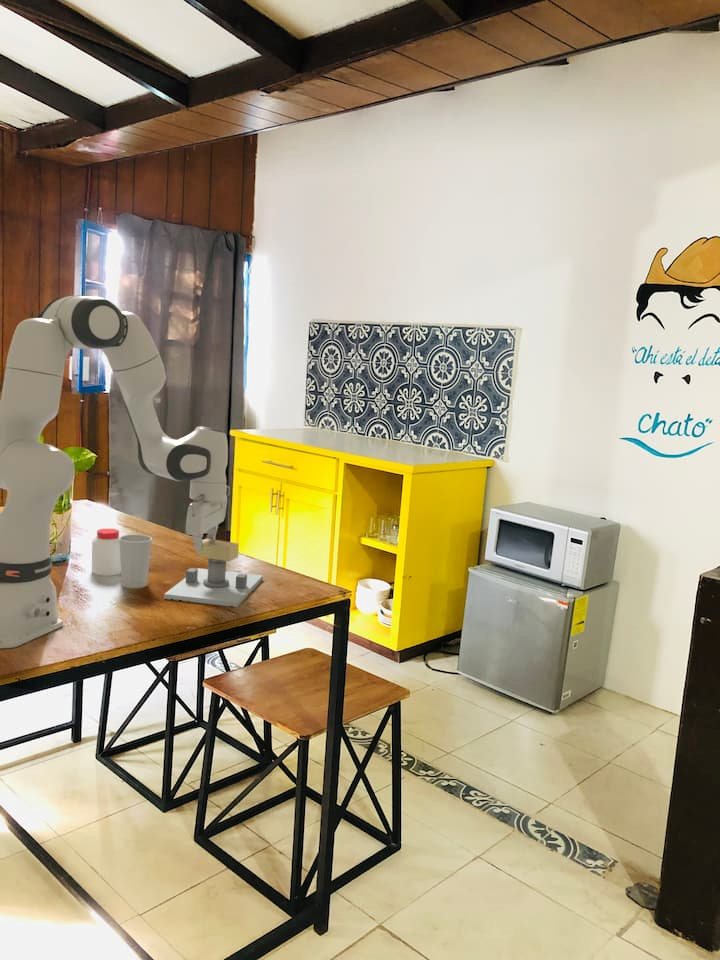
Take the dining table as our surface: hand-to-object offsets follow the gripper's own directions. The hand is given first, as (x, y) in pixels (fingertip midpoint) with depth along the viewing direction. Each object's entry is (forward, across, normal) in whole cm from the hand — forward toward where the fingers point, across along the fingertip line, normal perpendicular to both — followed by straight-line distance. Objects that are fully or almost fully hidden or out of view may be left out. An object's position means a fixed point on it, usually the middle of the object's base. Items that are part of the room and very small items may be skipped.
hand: (204, 545), depth 198 cm
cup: (+11, -4, +17) cm, 20 cm away
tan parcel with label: (+4, 0, -3) cm, 5 cm away
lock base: (+11, 0, -3) cm, 11 cm away
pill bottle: (+11, +4, +28) cm, 30 cm away
